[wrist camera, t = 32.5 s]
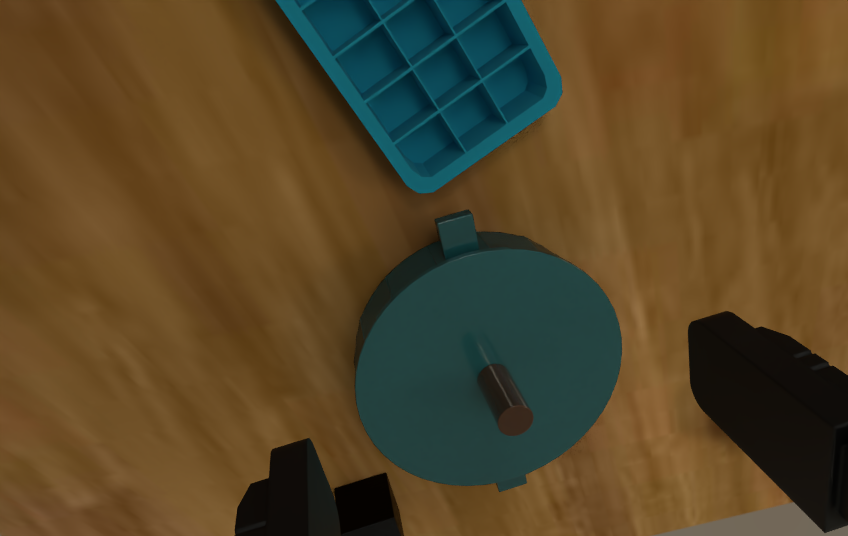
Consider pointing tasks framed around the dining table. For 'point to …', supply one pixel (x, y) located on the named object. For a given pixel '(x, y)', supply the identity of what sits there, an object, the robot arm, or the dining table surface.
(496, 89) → the ice cube tray
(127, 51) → the dining table surface
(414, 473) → the lid
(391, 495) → the block
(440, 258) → the teal tabbed round part
